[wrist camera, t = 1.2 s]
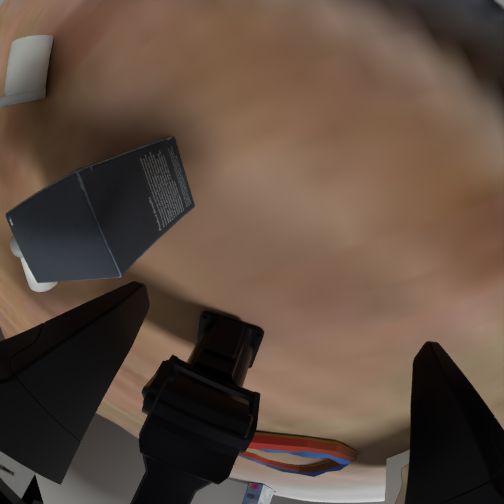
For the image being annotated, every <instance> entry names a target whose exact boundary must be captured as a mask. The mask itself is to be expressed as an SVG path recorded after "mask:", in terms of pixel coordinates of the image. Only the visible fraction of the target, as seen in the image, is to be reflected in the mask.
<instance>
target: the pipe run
mask: <svg viewBox="0 0 504 504" xmlns="http://www.w3.org/2000/svg"><path fill="white" fill-rule="evenodd" d="M53 39H54V37H53V36H51V35H34V36H28V37H23V38H20V39H17V40H14V41H13V42H12V44H11V49H10V54H9V60H8V66H7V74H6V82H5V92H4V97H1V98H0V107H4V106H9V105H14V104H19V103H24V102H29V101H34V100H40V99H44V98H45V96H46V89H45V88H46V79H47V72H48V65H49V59H50V53H51V48H52V43H53ZM10 246H11V250H12V253H13V254H14V255H15V256H17V257H20V258H21V262H22V265H23V269H24V272H25V275H26V278H27V281H28V285H29V287H30V288H31V289H32V290H33V291H36V292H44V291H47V290H50V289H51V288H53V287H54V286H55V285H56V284H57V283H58V282H49V283H37V282H36V280H35V278H34V276H33V274H32V272H31V271H30V269H29V267H28V265H27V263H26V261H25V259H24V257H23V255H22V253H21V251H20V249H19V246H18V244H17V242H16V240H15V237H14V235H13V236H12V237H11V239H10Z"/></svg>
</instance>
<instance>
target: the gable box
mask: <svg viewBox="0 0 504 504" xmlns="http://www.w3.org/2000/svg"><path fill="white" fill-rule="evenodd" d="M409 455H410V449H409V450H407V451H405V452H402V453H400V454H397V455H394V456H392V457H389V458H387V459H386V489H385V504H404V502H405V495H406V488H407V479H408V469H409Z"/></svg>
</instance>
